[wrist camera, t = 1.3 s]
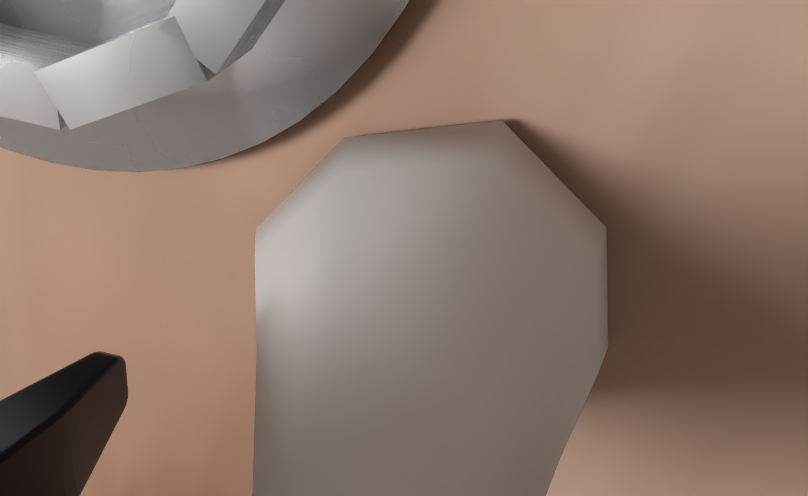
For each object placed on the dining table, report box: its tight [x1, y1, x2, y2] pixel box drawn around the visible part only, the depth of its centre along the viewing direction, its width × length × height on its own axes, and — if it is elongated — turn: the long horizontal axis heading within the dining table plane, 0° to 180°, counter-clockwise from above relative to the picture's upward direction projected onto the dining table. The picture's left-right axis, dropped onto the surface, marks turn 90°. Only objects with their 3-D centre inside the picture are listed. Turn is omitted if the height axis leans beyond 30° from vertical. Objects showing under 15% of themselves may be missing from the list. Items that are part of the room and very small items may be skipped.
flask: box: [252, 120, 608, 496], centre depth 9 cm, size 7×7×10 cm
